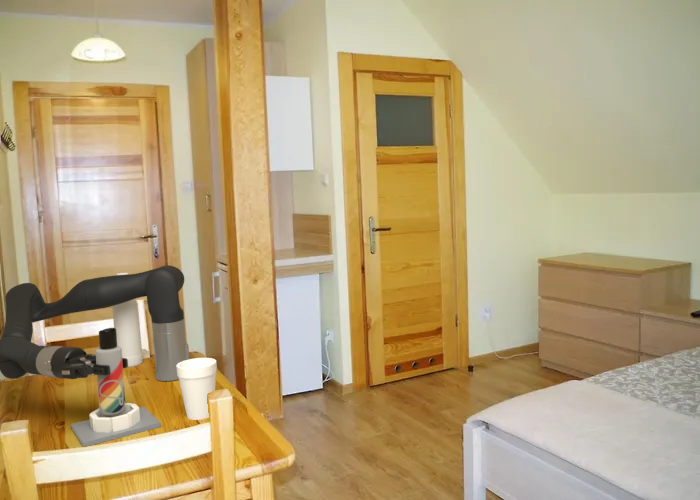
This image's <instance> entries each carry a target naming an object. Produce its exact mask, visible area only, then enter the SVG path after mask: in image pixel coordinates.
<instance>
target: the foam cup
mask: <svg viewBox="0 0 700 500" xmlns="http://www.w3.org/2000/svg"><path fill="white" fill-rule="evenodd" d="M176 368H177V376H178V378H179V379H178V382H179V386H180V392H181V394H182V401H183V404H184V408H185V413H186V417H187V418H188V420H191V421H192V420H194V421H195V420H199V421H200V420H205V419H208V418H210V417H209V413H208V404H207V394H208V393H210V392H212V391H215V392H216V381H217V372H218V364H217V360H216V359H215V358H212V357H196V358H189V360H185V361H182V362H180V363H178V364H177V366H176Z"/></svg>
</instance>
